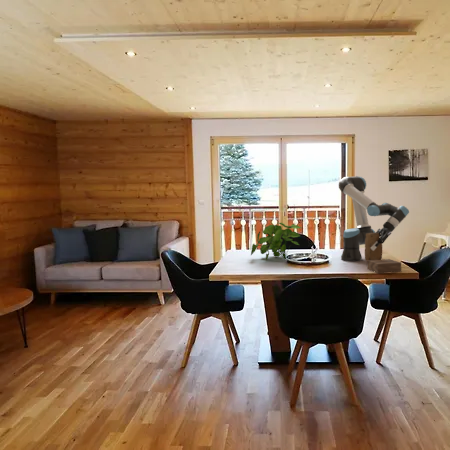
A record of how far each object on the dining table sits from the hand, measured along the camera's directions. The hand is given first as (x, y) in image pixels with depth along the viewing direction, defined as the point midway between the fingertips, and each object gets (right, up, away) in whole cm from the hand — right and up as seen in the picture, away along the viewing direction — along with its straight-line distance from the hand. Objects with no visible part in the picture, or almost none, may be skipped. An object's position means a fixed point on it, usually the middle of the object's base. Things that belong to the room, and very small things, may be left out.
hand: (368, 248), depth 286 cm
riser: (+5, -14, -14) cm, 20 cm away
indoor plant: (-59, -11, +37) cm, 71 cm away
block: (+4, -9, +1) cm, 10 cm away
